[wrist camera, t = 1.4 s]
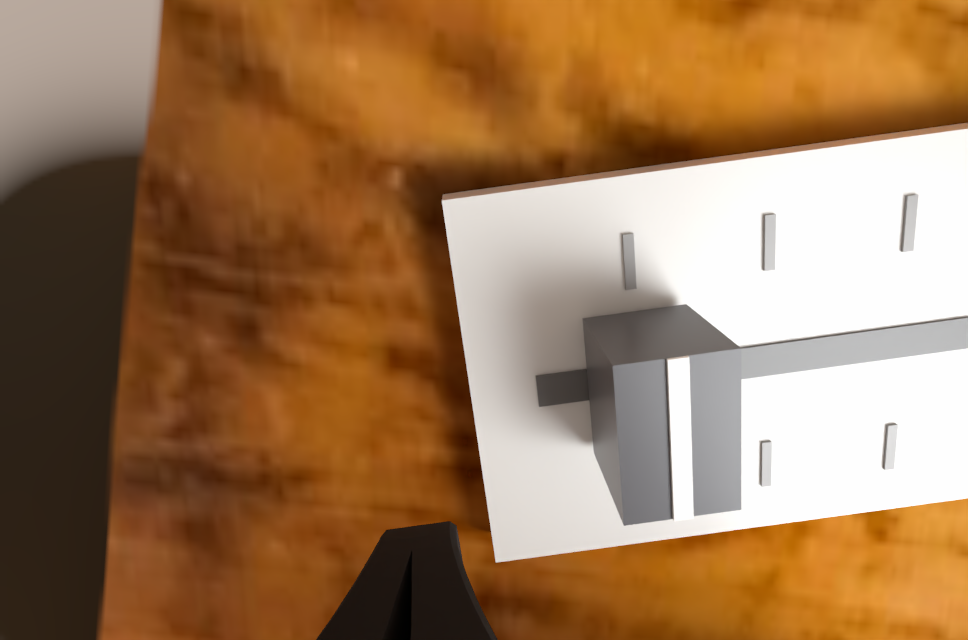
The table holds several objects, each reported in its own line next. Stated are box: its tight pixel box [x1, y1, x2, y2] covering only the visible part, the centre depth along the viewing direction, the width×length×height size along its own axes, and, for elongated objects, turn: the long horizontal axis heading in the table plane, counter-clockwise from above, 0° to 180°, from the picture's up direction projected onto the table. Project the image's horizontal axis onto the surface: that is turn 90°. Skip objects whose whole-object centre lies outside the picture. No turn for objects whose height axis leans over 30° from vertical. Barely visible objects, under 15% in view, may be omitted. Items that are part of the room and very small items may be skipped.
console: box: [442, 123, 968, 563], centre depth 19 cm, size 12×26×2 cm, turn 97°
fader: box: [582, 304, 741, 526], centre depth 17 cm, size 4×3×4 cm
